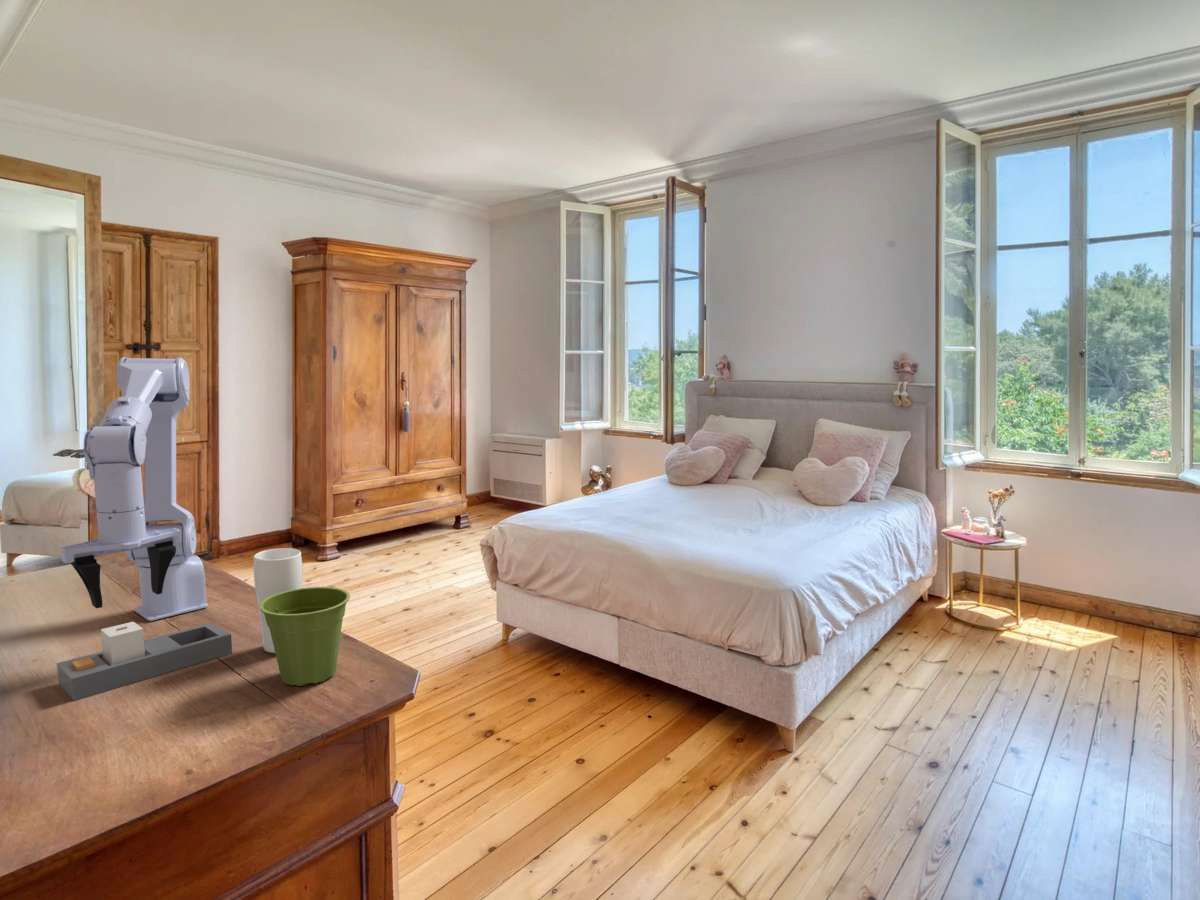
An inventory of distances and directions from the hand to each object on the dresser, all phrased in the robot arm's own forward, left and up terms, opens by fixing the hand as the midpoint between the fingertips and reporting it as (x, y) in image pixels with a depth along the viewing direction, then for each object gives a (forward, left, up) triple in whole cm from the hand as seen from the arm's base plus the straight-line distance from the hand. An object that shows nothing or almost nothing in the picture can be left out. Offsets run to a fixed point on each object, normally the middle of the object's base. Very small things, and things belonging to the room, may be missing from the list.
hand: (128, 599), depth 105 cm
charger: (+2, +5, -9) cm, 10 cm away
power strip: (-1, +5, -9) cm, 11 cm away
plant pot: (-15, +24, -9) cm, 30 cm away
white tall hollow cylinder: (-17, +12, -9) cm, 23 cm away
